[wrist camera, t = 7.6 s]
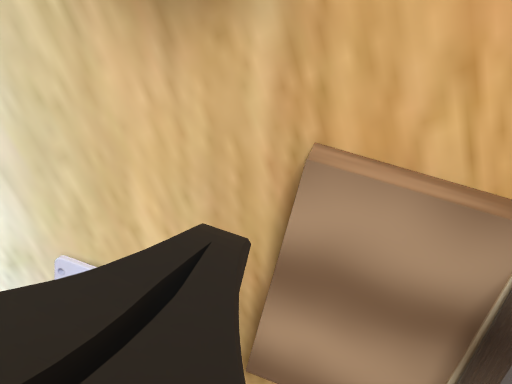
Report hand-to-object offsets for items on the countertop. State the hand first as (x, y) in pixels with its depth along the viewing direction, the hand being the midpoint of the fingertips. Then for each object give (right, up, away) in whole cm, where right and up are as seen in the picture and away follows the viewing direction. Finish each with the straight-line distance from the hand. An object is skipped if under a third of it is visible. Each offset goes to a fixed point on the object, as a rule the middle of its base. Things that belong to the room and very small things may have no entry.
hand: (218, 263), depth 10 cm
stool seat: (+8, -3, +9) cm, 13 cm away
